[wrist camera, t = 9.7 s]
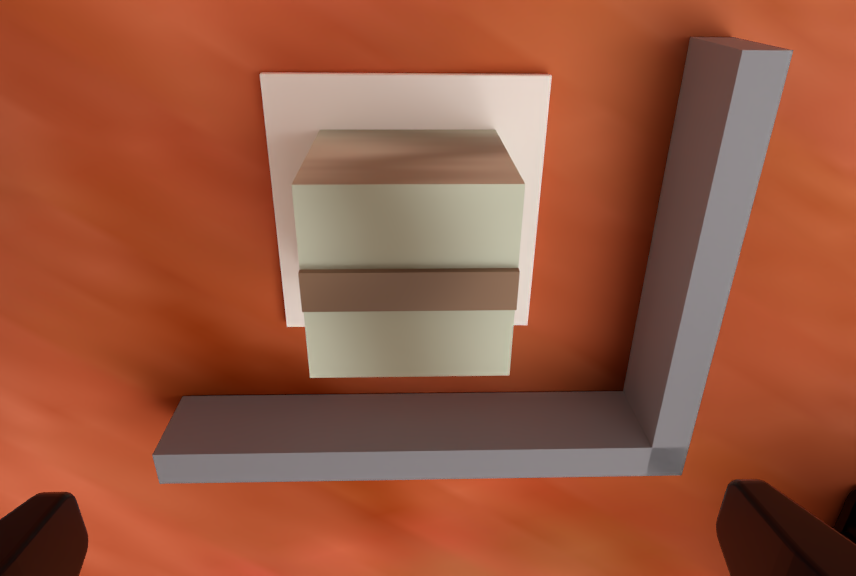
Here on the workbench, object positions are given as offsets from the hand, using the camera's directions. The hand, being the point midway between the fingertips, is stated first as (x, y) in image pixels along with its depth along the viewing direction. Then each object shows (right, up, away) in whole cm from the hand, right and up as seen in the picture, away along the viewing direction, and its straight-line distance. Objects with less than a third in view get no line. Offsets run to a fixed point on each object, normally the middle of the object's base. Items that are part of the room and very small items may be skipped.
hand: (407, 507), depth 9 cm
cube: (0, +5, +10) cm, 12 cm away
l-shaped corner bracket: (0, +4, +11) cm, 12 cm away
